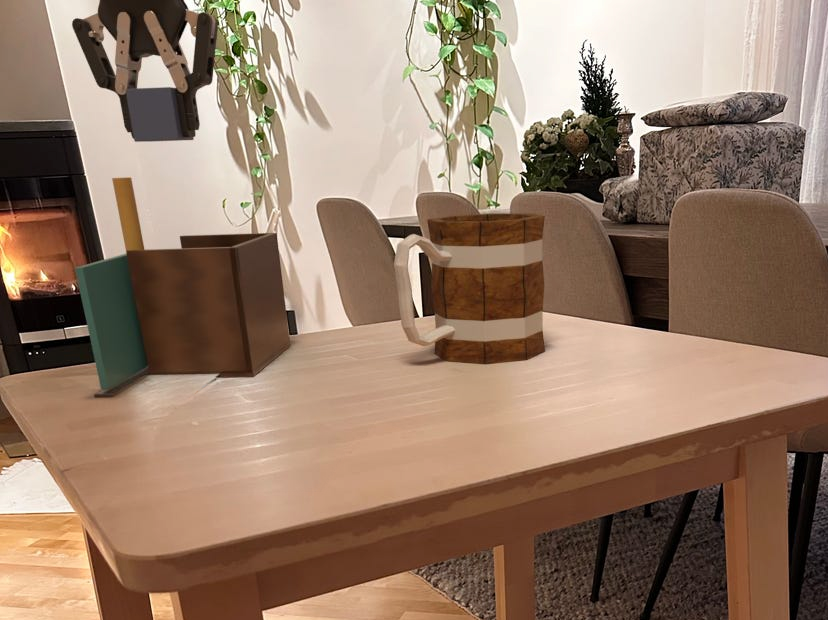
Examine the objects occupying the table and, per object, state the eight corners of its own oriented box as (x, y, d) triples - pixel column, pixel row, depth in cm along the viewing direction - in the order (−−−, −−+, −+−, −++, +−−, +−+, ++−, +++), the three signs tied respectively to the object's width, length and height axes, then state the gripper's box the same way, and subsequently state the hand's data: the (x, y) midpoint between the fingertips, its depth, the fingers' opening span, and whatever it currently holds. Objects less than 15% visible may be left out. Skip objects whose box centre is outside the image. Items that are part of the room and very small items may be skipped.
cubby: (95, 401, 99) (64, 262, 93) (185, 348, 124) (165, 236, 118) (226, 399, 98) (204, 258, 92) (290, 346, 123) (276, 232, 117)
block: (134, 141, 93) (124, 88, 91) (151, 141, 97) (142, 90, 95) (178, 140, 93) (170, 87, 91) (194, 140, 97) (186, 89, 95)
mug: (494, 337, 124) (491, 211, 117) (568, 350, 114) (569, 215, 107) (370, 361, 113) (358, 224, 106) (440, 378, 104) (432, 229, 97)
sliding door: (95, 389, 99) (50, 183, 90) (153, 356, 114) (119, 177, 105) (114, 389, 99) (70, 183, 90) (169, 356, 114) (137, 176, 105)
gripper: (218, -69, 90) (244, 135, 98) (73, -62, 91) (110, 140, 99) (191, -85, 83) (222, 135, 91) (35, -77, 84) (78, 140, 92)
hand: (163, 136), depth 95 cm, fingers closed on block, 4 cm apart
